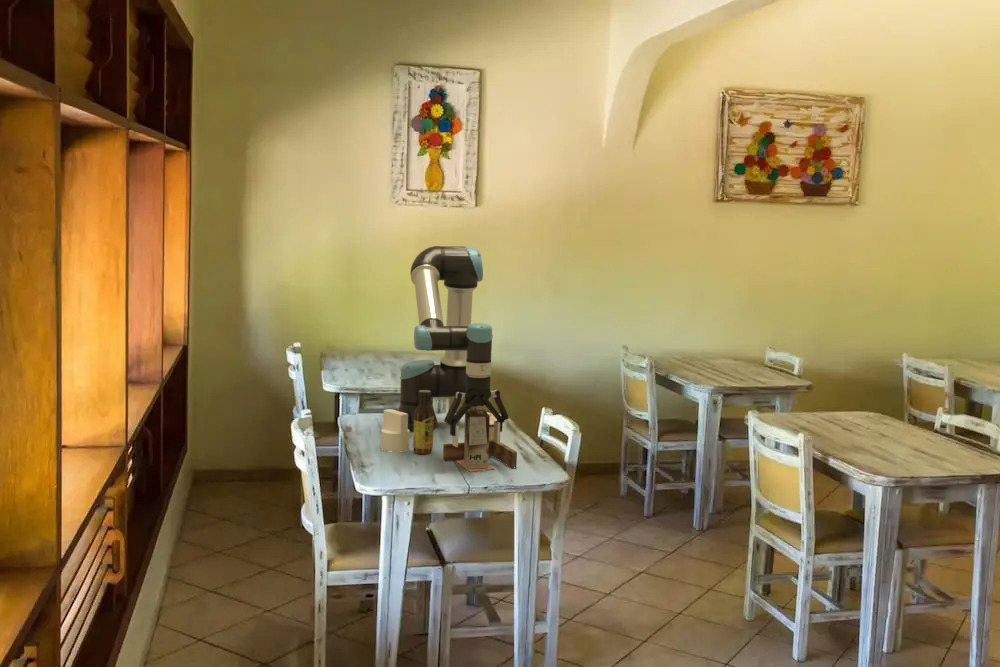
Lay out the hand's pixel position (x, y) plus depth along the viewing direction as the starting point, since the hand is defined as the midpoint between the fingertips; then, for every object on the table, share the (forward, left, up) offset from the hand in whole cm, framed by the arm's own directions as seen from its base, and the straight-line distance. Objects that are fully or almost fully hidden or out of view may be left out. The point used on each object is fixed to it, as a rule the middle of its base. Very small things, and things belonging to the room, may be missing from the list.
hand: (476, 444), depth 269 cm
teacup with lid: (-19, +12, -7) cm, 24 cm away
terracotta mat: (0, 0, -7) cm, 7 cm away
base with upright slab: (-26, -17, -7) cm, 32 cm away
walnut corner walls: (-1, +2, -7) cm, 7 cm away
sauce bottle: (-19, -10, -7) cm, 23 cm away
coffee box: (0, 0, -7) cm, 7 cm away
